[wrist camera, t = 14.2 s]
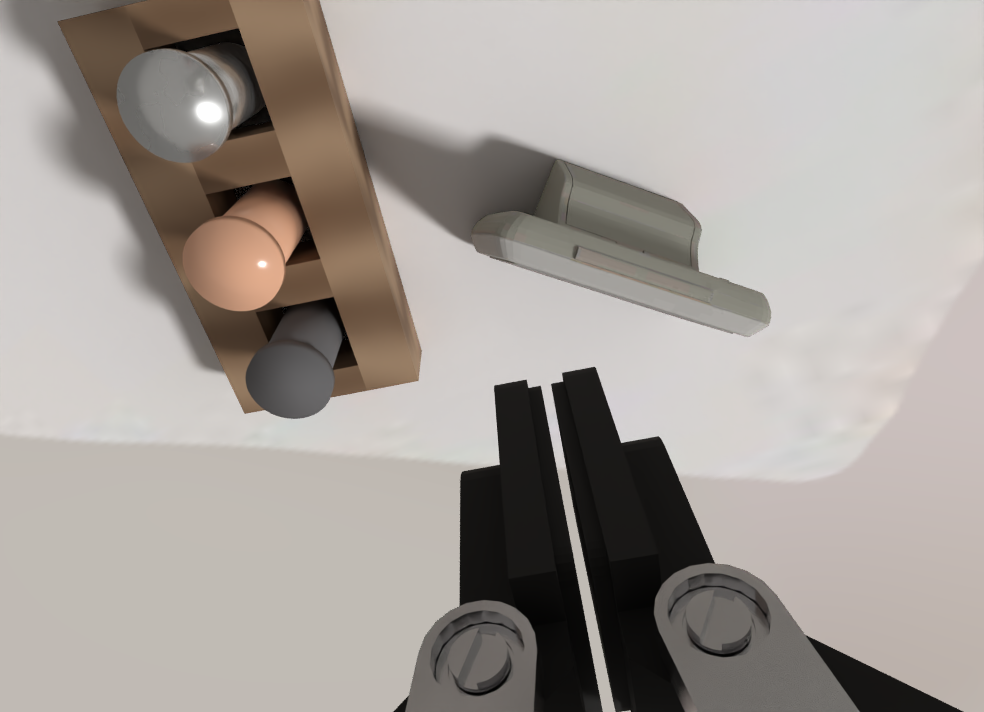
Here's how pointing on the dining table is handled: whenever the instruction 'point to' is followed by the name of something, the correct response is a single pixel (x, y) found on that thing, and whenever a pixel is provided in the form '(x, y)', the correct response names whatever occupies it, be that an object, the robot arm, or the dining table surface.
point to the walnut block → (267, 179)
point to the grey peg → (188, 99)
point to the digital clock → (620, 249)
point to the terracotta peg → (246, 247)
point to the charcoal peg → (298, 361)
